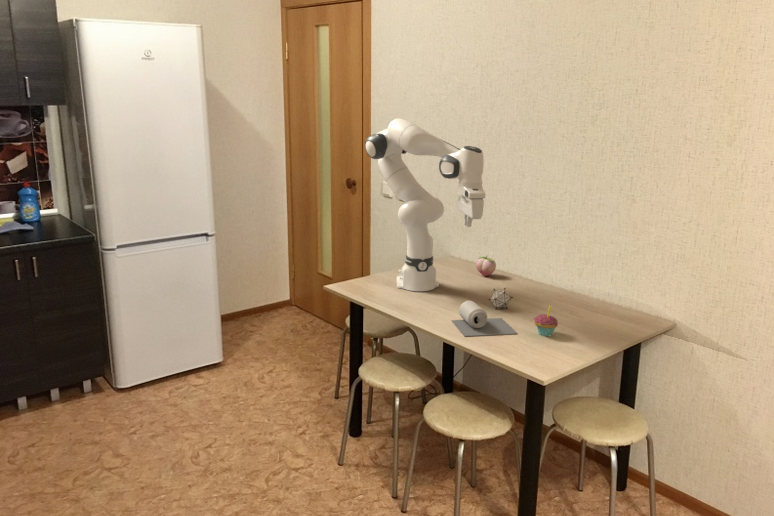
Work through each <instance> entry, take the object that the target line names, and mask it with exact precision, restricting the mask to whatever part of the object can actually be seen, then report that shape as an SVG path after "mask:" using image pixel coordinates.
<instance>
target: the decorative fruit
mask: <svg viewBox="0 0 774 516" xmlns="http://www.w3.org/2000/svg"><path fill="white" fill-rule="evenodd" d="M475 267H476V270H477V271H478V272H479V273H480V274H481V276H484V277H488V276H490V275H492V274H494V272H495V270H496V267H497V263H496V261H495V259H493V258H491V257H488V256H480V257H479V258H478V260H477V261H476V264H475Z"/></svg>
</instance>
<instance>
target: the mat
mask: <svg viewBox="0 0 774 516" xmlns="http://www.w3.org/2000/svg"><path fill="white" fill-rule="evenodd" d="M450 321H451V323H452V324H453V325H454V326H455V327H456V329H458V331H459V332H460V333H461V334H462V335H463V336H464V337H466V338H467V337H468V338H469V337H484V336H485V337H486V336H487V337H488V336H504V335H505V336H507V335H509V336H510V335H518V334H519V333H518V332H517V331H516V330H515V329H514V328H513V327H512V326H511V325H510V324H509V323H508V322H507V321H506V320H505V319H503V318H502V317H495V318H494V317H493V318H487V322H486V324H485V325H484V326H483V327H481V328H473V327H471V326H470V325H469V324H468V323H467V322H466V321H465V320H464V319H452V320H450Z"/></svg>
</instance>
